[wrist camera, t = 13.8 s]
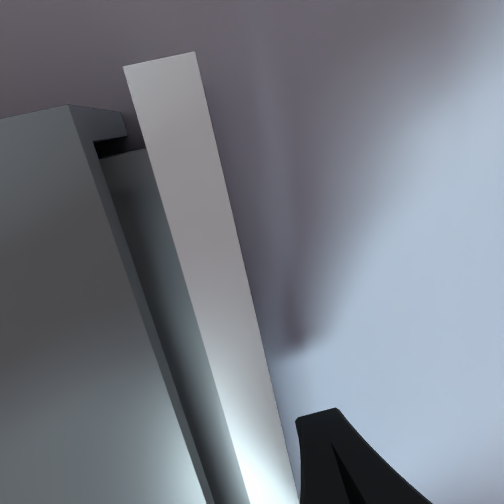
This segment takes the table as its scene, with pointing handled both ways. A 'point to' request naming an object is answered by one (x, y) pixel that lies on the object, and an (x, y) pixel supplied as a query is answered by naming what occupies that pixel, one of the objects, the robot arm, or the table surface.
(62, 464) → the block
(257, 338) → the tray
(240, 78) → the table surface
